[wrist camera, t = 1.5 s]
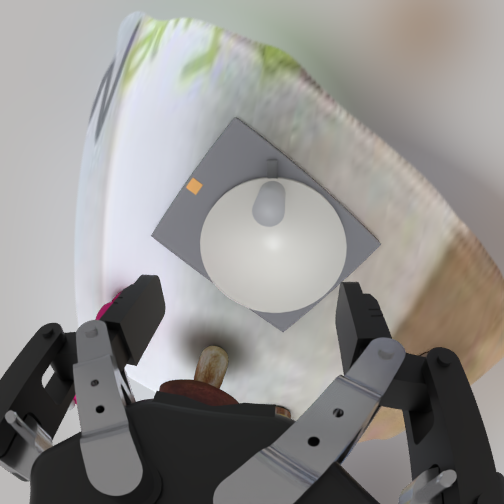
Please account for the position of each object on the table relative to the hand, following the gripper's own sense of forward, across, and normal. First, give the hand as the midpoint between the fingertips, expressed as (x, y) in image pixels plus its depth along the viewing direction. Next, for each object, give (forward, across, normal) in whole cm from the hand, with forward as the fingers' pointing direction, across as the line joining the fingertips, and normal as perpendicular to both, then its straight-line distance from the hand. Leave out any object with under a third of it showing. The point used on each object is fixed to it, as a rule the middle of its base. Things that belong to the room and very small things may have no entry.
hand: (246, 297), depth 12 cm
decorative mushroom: (+21, +8, +24) cm, 33 cm away
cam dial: (+19, 0, +6) cm, 20 cm away
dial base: (+20, +1, +6) cm, 21 cm away
